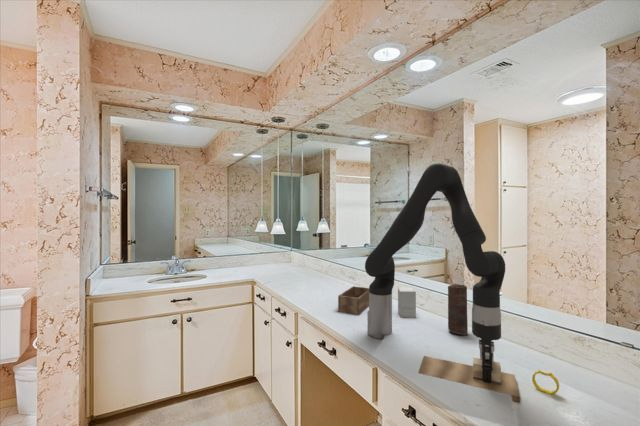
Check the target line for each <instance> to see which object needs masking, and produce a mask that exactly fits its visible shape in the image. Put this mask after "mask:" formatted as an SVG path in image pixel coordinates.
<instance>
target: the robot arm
mask: <svg viewBox="0 0 640 426" xmlns="http://www.w3.org/2000/svg"><path fill="white" fill-rule="evenodd" d="M462 182H463V181H462V178H461V175H460V174H459V171H458V170H457V169H456V168H455V167H452V166H450V165H447V164H445V163H441V162H435V163H431V164H430V165H429V166H428V167H427V168H425V170H424V171H423V173H422V175H421V177H420V179H419V180H418V183H417V184H416V186H415V188H414V190H413V192H412V193H411V195H410V197H409V198H408V200H407V202H406V203H405V204H404V206H403V208H402V209H401V211H400V212H399V213H398V215H397V216H396V217H395V219H394V221H393V222H392V224H391V225H390V227H389V228H388V230H387V232H386V233H385V234H384V236H383V238H381V241H380V242H379V243H378V244H377V246H376V247H375V248H374V249H373V250H372V252H370V254H369V255H368V256H367V258H366V260H365V263H364V270H365V272H366V274H367V275H368V276H370V277H372V278H374V279H373V281H372V282H371V283H370V284H369V287H368V288H369V307H368V311H367V336H370V337H372V338H375V339H382V340H383V339H384V338H385V337H386V336H390V335H391V334H393V289H394V285H395V272H396V271H395V270H396V269H395V268H396V266H395V265H396V264H395V260H394V257H393V256H394V255H395V254H396V253H398V251H400V250H401V249H403V247H405V246H407V244H408V243H409V242H411V240H412V239H414V237H415V236H416V235H417V233H418V232H419V231H420V230H421V228H422V226H423V224H424V221H425V215H426V209H427V206H428V204H429V202H430V201H431V200H432V198H433V197H434V195H435V194H436V193H437V192H441V193H442V194H443V196H444V197H445V198H446V199H447V201H448V204H449V206H450V211H451V212H450V213H451V221H452V225H453V228H454V230H455V233H456V235H457V237H458V239H459V241H460V242H461V246H462V247H461V248H462V253H463V257H464V263H465V265H466V268H467V269H468V271H469V272H470V273H471V274H472V275H473V276H475V277H479V278H480V279H479V281H478V282H476V283H475V284H474V285H473V287H472V306H471V307H472V308H471V333H472V335H473V336H475V337H476V338H479V339H478V348H479V359H481V360H482V370H483V381H484V382H487V383H491V371H492V370H493V368H492V362H493V361H494V360H495V357H494V352H495V342H494V341H499V340H500V339H502V338H501V337H502V312H501V295H500V294H501V293H500V292H501V288H502V285H503V281H504V277H505V273H506V262H505V259H504V257H503V256H502V254H501V253H499V252H497V251H493V250H487V251H483V248H482V245H483V244H485V242H486V240H487V237H486V235H485V232H484V231H483V229H482V226H481V225H480V223H479V221H478V219H477V218H476V215H475V213H474V211H473V209H472V207H471V205H470V202H469V199H468V197H467V193H466V191H465V188H464V184H463V183H462ZM494 362H495V361H494ZM484 364H488V365H484ZM489 365H490V366H489Z"/></svg>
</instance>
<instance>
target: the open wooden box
mask: <svg viewBox="0 0 640 426" xmlns="http://www.w3.org/2000/svg"><path fill="white" fill-rule="evenodd" d="M337 298H338V299H337V301H338V303H337V310H338V313H342V314H350V315H355V316H360V315H361V314H362V313H363V312H365V311H366V310H367V309H368V308H369V287H364V286H363V287H361V286H354V285H353V286H351V287H350V288H348V289H347V290H345V291H344V292H342V293H340V294H339V295H338V296H337Z"/></svg>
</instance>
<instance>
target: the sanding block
mask: <svg viewBox="0 0 640 426" xmlns="http://www.w3.org/2000/svg"><path fill="white" fill-rule="evenodd" d="M472 361H473V362H472V366H473V379H477V380H482V381H483V370H482V360H481V359H480V357H472ZM484 365H488V364H484ZM489 366H490V365H489ZM492 368H493V370H492V371H491V383H495V384H500V385H501V372H502V368H501V363H500V362H499V361H493V362H492Z"/></svg>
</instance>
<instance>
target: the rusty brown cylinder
mask: <svg viewBox="0 0 640 426" xmlns="http://www.w3.org/2000/svg"><path fill="white" fill-rule="evenodd" d="M468 326H469V325H468V286H467V285H465V284H458V283H453V284H450V285H447V329H448V331H450V332H451V333H454V334H457V335H464V336H467V335H468V334H469V333H468V332H469V331H468V330H469V329H468Z"/></svg>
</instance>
